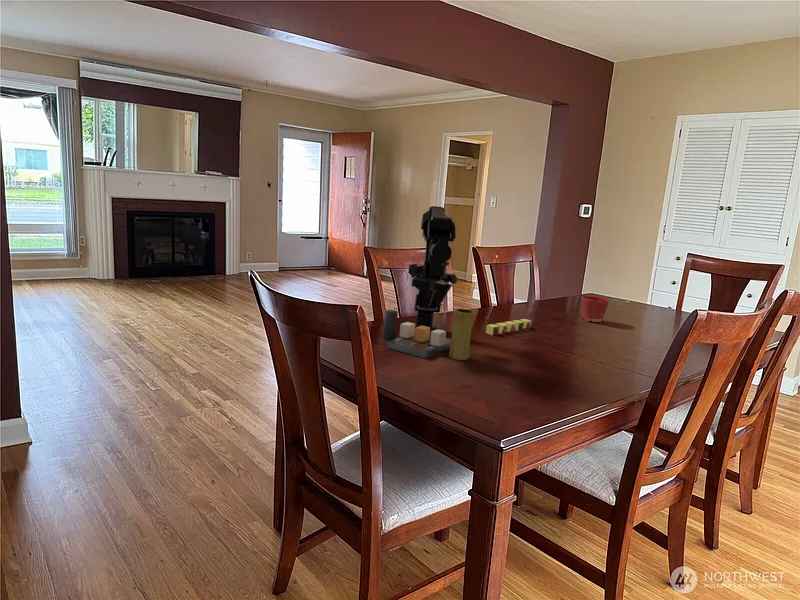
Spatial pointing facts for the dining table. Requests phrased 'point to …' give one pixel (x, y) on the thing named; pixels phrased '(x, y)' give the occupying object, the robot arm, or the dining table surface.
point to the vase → (461, 334)
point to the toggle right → (438, 337)
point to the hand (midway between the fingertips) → (432, 307)
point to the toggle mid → (422, 333)
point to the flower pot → (594, 307)
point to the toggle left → (407, 330)
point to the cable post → (390, 324)
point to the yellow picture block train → (507, 326)
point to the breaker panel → (417, 346)
